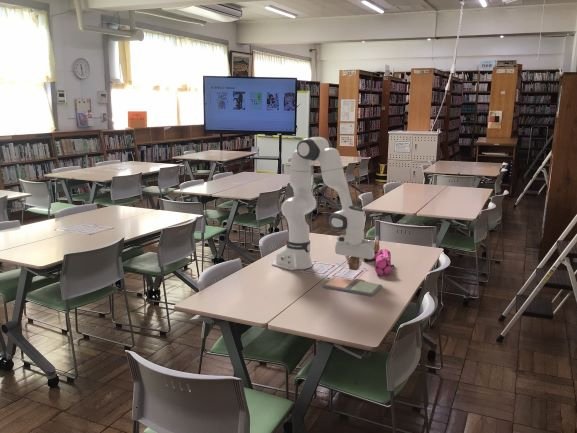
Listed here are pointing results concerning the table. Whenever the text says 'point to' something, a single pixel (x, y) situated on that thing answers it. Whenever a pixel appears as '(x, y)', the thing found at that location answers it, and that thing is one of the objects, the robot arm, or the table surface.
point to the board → (352, 286)
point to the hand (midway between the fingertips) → (354, 264)
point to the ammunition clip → (374, 252)
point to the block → (353, 263)
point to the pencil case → (383, 262)
